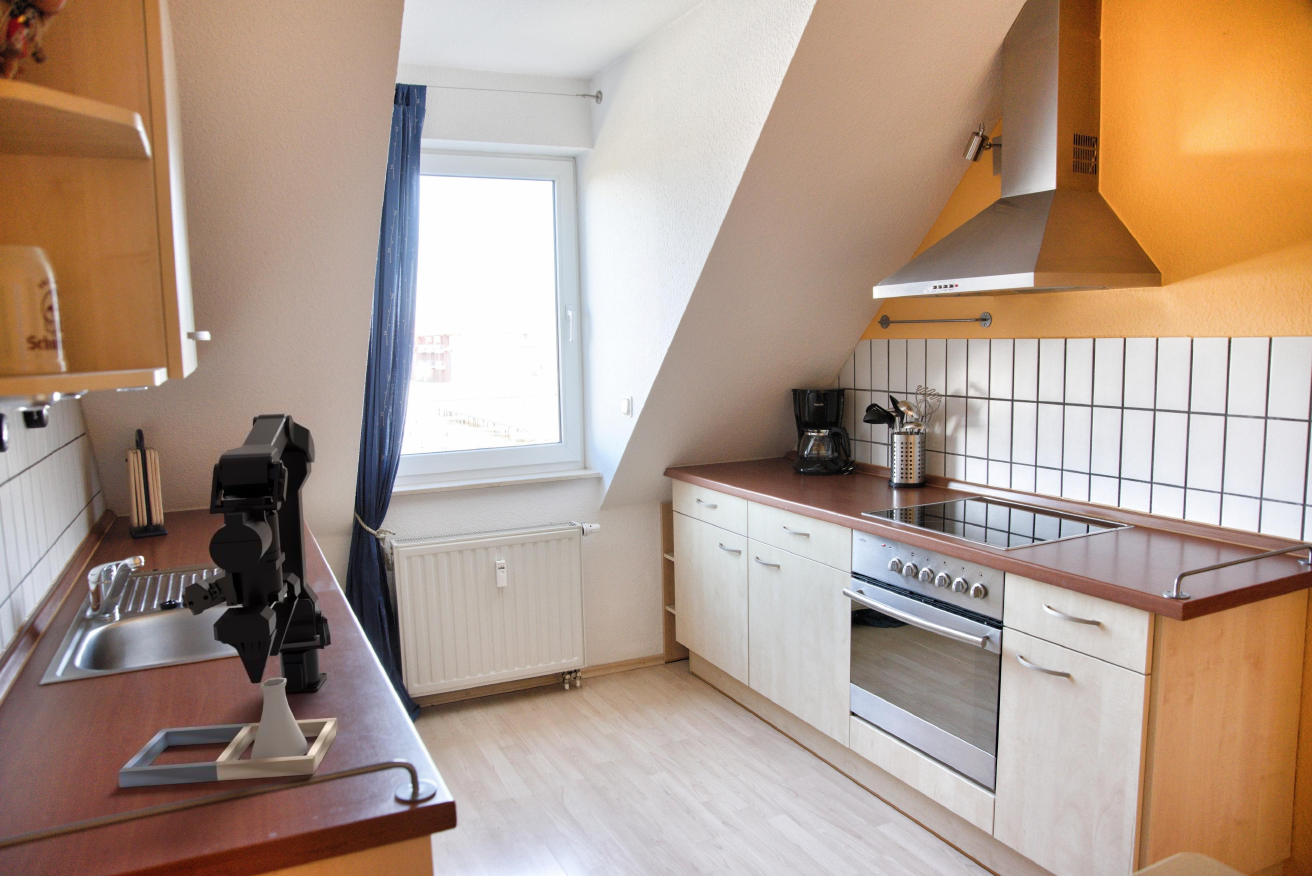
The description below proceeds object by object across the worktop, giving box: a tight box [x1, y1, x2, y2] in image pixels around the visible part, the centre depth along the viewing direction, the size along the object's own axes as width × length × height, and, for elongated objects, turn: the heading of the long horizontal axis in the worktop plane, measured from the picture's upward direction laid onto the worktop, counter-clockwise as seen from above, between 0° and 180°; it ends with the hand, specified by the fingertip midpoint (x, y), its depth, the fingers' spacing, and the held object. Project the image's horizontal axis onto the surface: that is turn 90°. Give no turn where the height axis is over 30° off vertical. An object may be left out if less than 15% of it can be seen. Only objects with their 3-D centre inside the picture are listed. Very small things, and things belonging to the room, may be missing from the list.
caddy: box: [117, 717, 339, 788], centre depth 116 cm, size 12×23×2 cm, turn 96°
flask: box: [249, 677, 308, 759], centre depth 116 cm, size 7×7×10 cm
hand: (265, 668), depth 115 cm, fingers open, 9 cm apart
